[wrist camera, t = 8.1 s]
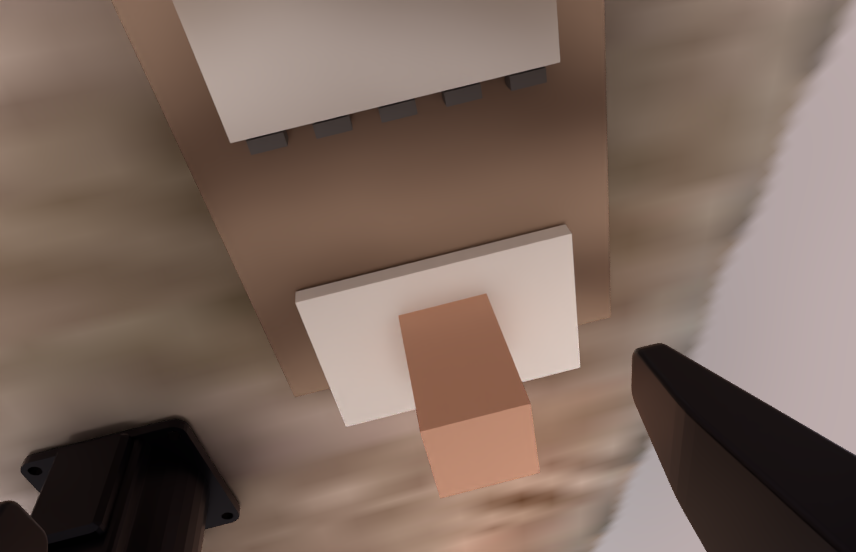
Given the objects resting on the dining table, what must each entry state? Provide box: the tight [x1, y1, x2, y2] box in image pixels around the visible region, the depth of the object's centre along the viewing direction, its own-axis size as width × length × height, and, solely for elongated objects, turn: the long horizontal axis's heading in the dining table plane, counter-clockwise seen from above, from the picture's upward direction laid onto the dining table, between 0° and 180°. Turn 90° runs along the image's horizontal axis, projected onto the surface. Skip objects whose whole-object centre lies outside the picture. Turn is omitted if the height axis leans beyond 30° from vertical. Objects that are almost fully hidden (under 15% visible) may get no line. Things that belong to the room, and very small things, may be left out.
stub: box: [295, 224, 580, 498], centre depth 19 cm, size 6×9×6 cm, turn 101°
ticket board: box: [111, 0, 611, 397], centre depth 18 cm, size 18×12×2 cm, turn 11°
